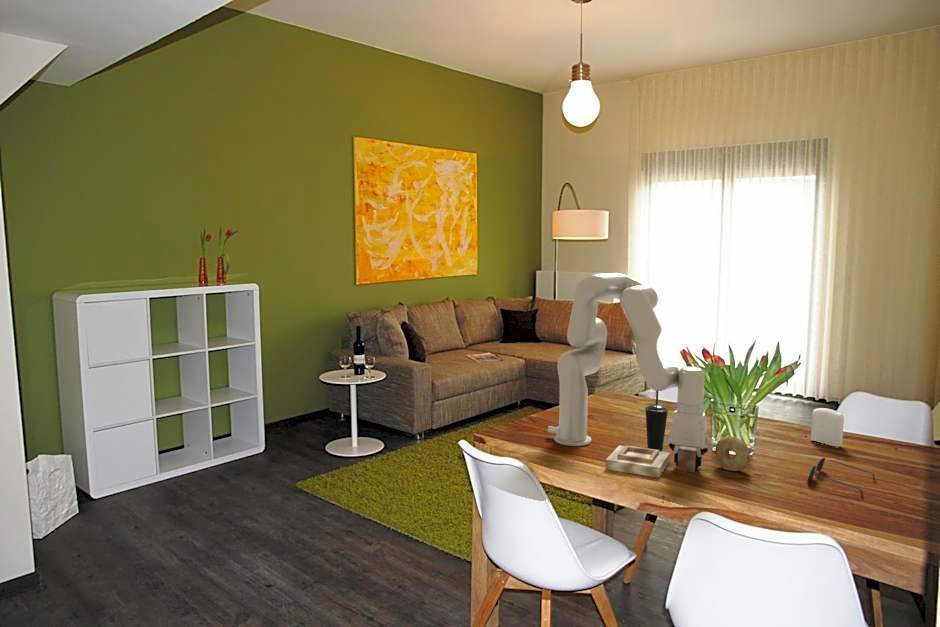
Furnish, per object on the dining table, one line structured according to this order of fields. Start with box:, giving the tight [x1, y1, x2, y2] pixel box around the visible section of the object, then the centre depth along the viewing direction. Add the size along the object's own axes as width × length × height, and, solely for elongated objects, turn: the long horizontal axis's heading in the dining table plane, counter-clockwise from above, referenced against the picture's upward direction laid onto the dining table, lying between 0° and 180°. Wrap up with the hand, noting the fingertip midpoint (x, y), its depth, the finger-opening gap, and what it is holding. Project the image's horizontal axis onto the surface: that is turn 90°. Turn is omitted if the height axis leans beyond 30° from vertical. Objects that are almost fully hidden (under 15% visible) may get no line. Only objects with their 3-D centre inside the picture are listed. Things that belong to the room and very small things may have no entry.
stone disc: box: [714, 436, 752, 472], centre depth 208 cm, size 10×4×10 cm, turn 48°
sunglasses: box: [806, 457, 876, 498], centre depth 198 cm, size 17×15×5 cm
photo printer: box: [810, 407, 845, 446], centre depth 235 cm, size 10×4×12 cm, turn 29°
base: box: [605, 444, 671, 478], centre depth 212 cm, size 16×16×4 cm
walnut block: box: [676, 446, 697, 473], centre depth 209 cm, size 5×5×6 cm
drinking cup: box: [644, 390, 669, 451], centre depth 229 cm, size 8×8×20 cm
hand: (687, 466), depth 210 cm, fingers closed on walnut block, 5 cm apart
